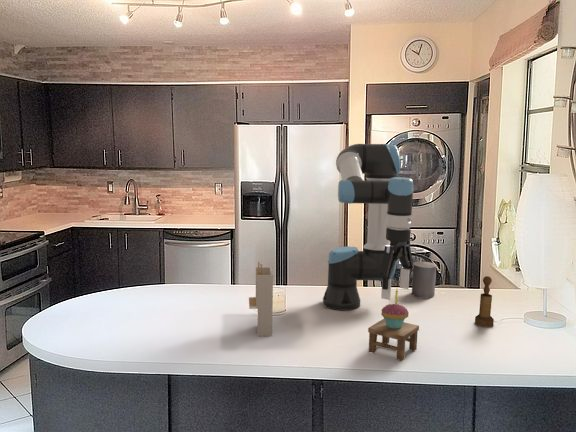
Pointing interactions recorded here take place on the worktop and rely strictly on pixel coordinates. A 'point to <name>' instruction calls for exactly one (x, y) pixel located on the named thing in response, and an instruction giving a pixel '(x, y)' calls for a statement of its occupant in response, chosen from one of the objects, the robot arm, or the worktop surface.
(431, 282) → the pillar candle
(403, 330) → the walnut stool
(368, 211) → the robot arm
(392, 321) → the cupcake
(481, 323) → the brown chess pawn
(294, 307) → the worktop surface
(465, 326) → the worktop surface
